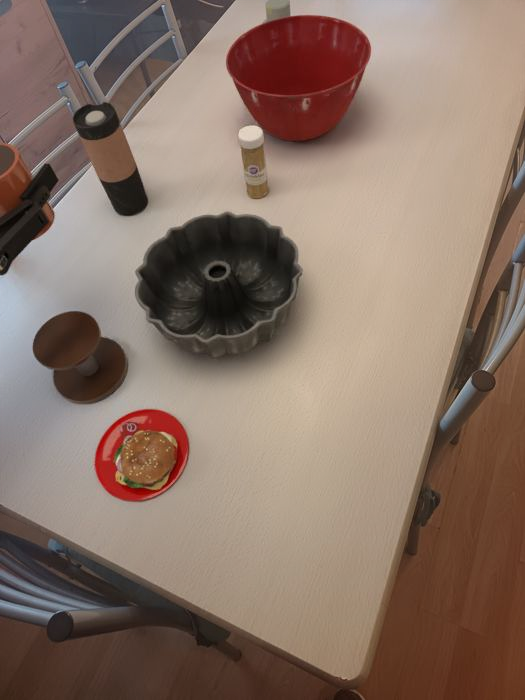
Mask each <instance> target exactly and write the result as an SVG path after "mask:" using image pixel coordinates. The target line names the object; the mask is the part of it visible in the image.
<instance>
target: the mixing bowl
mask: <svg viewBox="0 0 525 700" xmlns="http://www.w3.org/2000/svg"><path fill="white" fill-rule="evenodd" d="M262 23H263V22H262ZM262 23H260V24H258V25H256V26H253V27H252V28H250V29H248V30H247V31H246V32H243V34H241V35H240V36H239V37H237V39H236V40H235V41H234V42H233V43H232V44H231V46H230V47H229V49H228V51H227V53H226V58H225V59H226V60H225V67H226V71H227V73H228V75H229V76H230V78H231V79H232V81H233V84H234V86H235V89H236V90H237V93H238V95H239V97H240V99H241V100H242V102H243V104H244V106H245V107H246V109H247V111H248V112H249V114H250V115H251V116H252V118H253V119H254V121H255V122H256V124H258V126H259V127H260V128H261V129H262V130H264V131H265V132H266V133H268V134H269V135H271V136H273V137H275V138H277V139H281V140H285V141H290V142H303V141H310V140H312V139H316V138H319V137H322V136H323V135H325V134H326V133H328V132H330V131H331V130H332V129H333V128H335V127H336V126H337V125H338V124H339V123H340V121H341V120H342V119H343V117H344V116H345V114H346V113H347V111H348V110H349V108H350V106H351V104H352V102H353V100H354V99H355V97H356V94H357V92H358V90H359V87H360V84H361V82H362V79H363V76H364V73H365V70H366V68H367V66H368V63H369V62H370V59H371V55H372V46H371V43H370V40H369V38H368V36H367V35H366V34H365V33H364V31H362V30H361V29H360V28H359V27H357V26H356V25H355V24H352V23H351V22H348V21H345V20H343V19H340V18H336V17H332V16H327V15H321V14H320V15H318V14H298V15H290V16H289V17H283V18H279V19H275V20H272V21H269V22H266V23H263V24H262Z"/></svg>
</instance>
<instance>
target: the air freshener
mask: <svg viewBox="0 0 525 700" xmlns="http://www.w3.org/2000/svg"><path fill="white" fill-rule="evenodd" d="M265 16H266V19H264V20H263V22H262V23H261V24H263V23H266V22H269V21H272V20H275V19H279V18H283V17H289V16H291V1H290V0H266V2H265Z"/></svg>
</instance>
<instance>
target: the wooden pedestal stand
mask: <svg viewBox="0 0 525 700" xmlns="http://www.w3.org/2000/svg"><path fill="white" fill-rule="evenodd" d="M32 341H33V342H32V352H33V356H34V358H35V359H36V361H37V362H38V363H39V364H40V365H41V366H43V367H44V368H46V369H48V370H53V373H52V379H53V381H52V382H53V384H54V388H55V389H56V391H57V392H58V393H59V394H60V395H61V397H62V398H64V399H65V400H67V401H68V402H70V403H74V404H78V405H91V404H95V403H98V402H101V401H103V400H105V399H107V398H108V397H110V396H112V395H113V394H114V393H115V392H116V391H117V390H118V389H119V388H120V387H121V386H122V384H123V382H124V380H125V378H126V376H127V374H128V369H129V364H128V363H129V362H128V356H127V354H126V352H125V351H124V349H123V347H122V346H121V345H120V344H119V343H118V342H117V341H115V340H113V339H111V338H108V337H105V336H102V331H101V327H100V325H99V323H98V321H97V320H96V318H94V317H93V316H92V315H91V314H89V313H87V312H84V311H79V310H69V311H65V312H61V313H59V314H57V315H54V316H52V317H51V318H50V319H48V320H47V321H45V322H44V323H43V324H42V325H41V327H40V328H39V329H38V330H37V332H36V334H35V335H34V338H33V340H32Z"/></svg>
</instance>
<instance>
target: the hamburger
mask: <svg viewBox="0 0 525 700" xmlns="http://www.w3.org/2000/svg"><path fill="white" fill-rule="evenodd" d="M189 449H190V447H189V437H188V435H187V432H186V429H185V428H184V426H183V424H182V423H181V422H180V420H179V419H177V418H176V417H175V416H173V415H172V414H170V413H168V412H166V411H164V410H160V409H154V408H144V409H143V408H142V409H138V410H135V411H132V412H131V411H130V412H129V413H127V414H125V415H122V416H121V417H120V418H118V419H117V420H116V421H114V422H113V423H112V424H111V425H110V426H109V427H108V428H107V429H106V431H104V433H103V435H102V437H101V438H100V440H99V442H98V444H97V447H96V450H95V455H94V470H95V474H96V477H97V479H98V481H99V483H100V485H101V486H102V488H103V489H104V490H105V491H106V492H107V493H109V494H110V495H111V496H113V497H115V498H117V499H119V500H123V501H129V502H139V501H145V500H149V499H152V498H155V497H156V496H159V495H160V494H162V493H164V492H165V491H167V490H168V489H169V488H170V487H171V486H173V484H174V483H176V481H177V480H178V479H179V477H180V476H181V474H182V472H183V471H184V469H185V467H186V464H187V461H188V458H189Z"/></svg>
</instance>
